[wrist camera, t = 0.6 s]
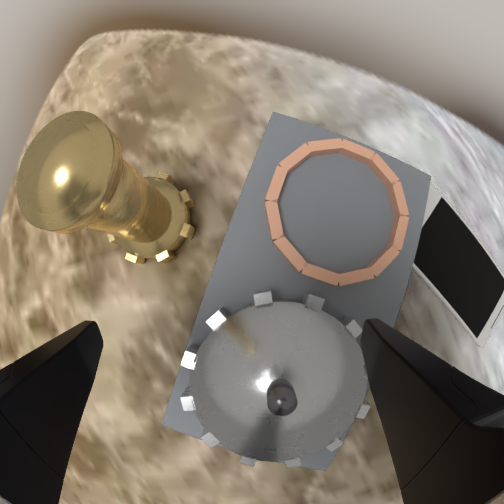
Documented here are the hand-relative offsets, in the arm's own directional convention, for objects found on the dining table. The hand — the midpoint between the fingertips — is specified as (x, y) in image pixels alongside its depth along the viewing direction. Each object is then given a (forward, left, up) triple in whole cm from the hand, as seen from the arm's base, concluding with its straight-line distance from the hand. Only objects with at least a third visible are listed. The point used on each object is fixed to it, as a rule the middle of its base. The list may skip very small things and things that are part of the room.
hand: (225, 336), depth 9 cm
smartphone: (+8, -17, -14) cm, 24 cm away
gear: (-5, -4, -12) cm, 13 cm away
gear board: (+1, -4, -13) cm, 14 cm away
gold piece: (+3, +9, -13) cm, 16 cm away
